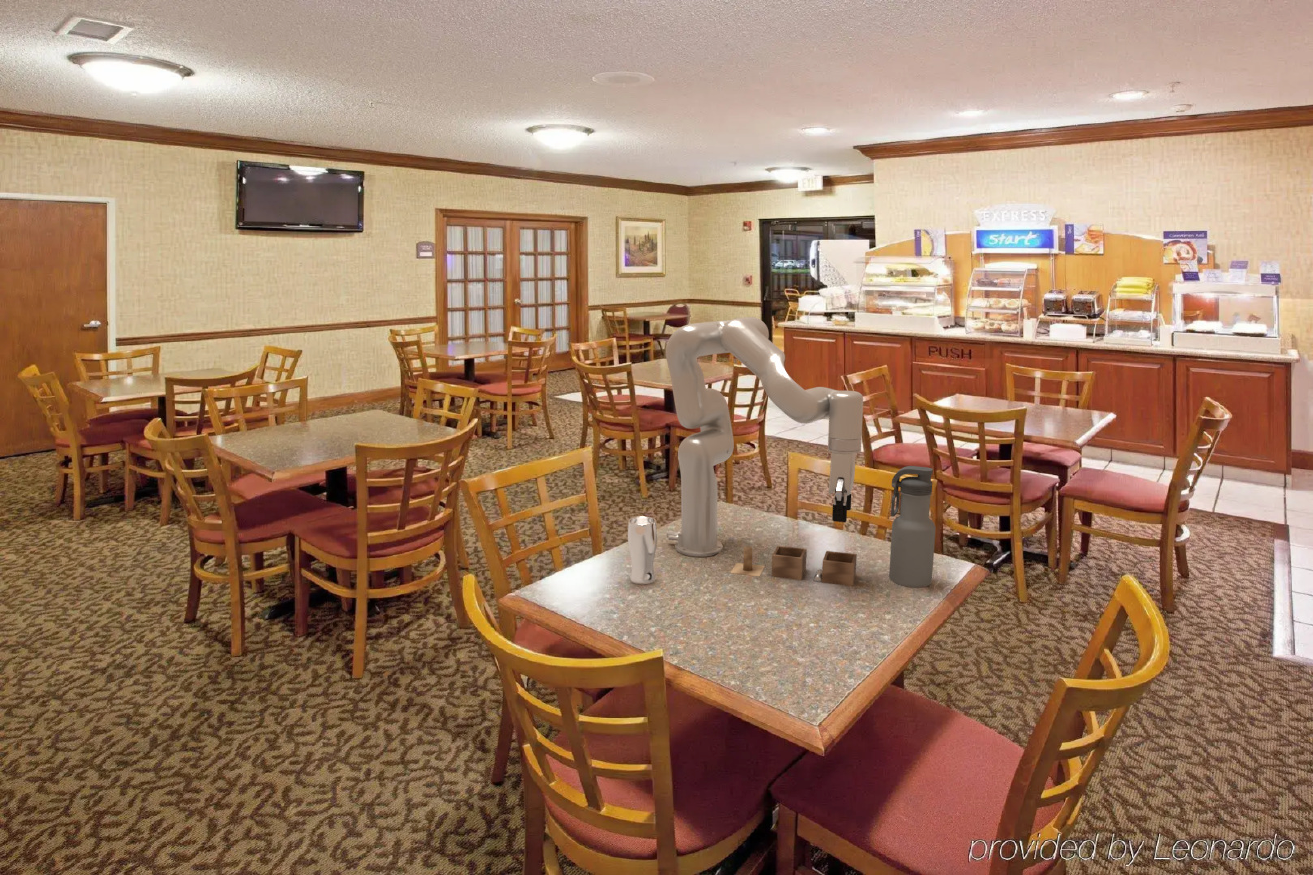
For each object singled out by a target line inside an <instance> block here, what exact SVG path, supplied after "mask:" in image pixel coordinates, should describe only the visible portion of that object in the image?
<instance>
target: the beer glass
mask: <svg viewBox="0 0 1313 875" xmlns="http://www.w3.org/2000/svg"><path fill="white" fill-rule="evenodd" d="M627 526H628V527H627V543H628V544H627V546H628V552H629V556H630V563H631V573H630V577H629V581H630V582H631V583H633V584H636V585H649V584H652V583H654V582H655V581H656V575H655V569H654V563H655V558H656V557H655V556H656V550H657V544H658V533H657V531H658V530H657V520H656V519H655V518H654V517H650V516H634V517H631V518H629V520H628V525H627Z"/></svg>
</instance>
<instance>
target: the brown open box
mask: <svg viewBox="0 0 1313 875" xmlns="http://www.w3.org/2000/svg"><path fill="white" fill-rule="evenodd" d="M807 551H808V548H803V547H794V546H784V545H777V546H776V548H775V550H774V551H773V553H772V555H771V577H772V578H774V577H775V578H779V579H780V578H781V579H789V580H797V581H802V580H803V578H804V575H805V573H806V571H807V553H808V552H807Z"/></svg>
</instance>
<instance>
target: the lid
mask: <svg viewBox="0 0 1313 875" xmlns="http://www.w3.org/2000/svg"><path fill="white" fill-rule="evenodd" d="M753 549H754V548H753V547H752V546H750V545H748V546H743V563H742V562H736V563H735V565H734V566H733V568H732V570H730V574H733V575H734V574H735V575H743V576H751V577H761V574H762V572H763V570H764V569H765V565H761V564H753Z"/></svg>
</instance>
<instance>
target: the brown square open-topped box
mask: <svg viewBox="0 0 1313 875" xmlns="http://www.w3.org/2000/svg"><path fill="white" fill-rule="evenodd" d="M857 557H858V554H857V553H850V552H849V553H848V552H841V551H840V552H839V551H833V550H826V552H825V554H824V557H823V558H822V564H821V565H822V567H821V568H822V569H821V570H822V582H821V583H822V584H830V585H838V586H839V585H840V586H848V587H854V584H855V579H856V576H857Z"/></svg>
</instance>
